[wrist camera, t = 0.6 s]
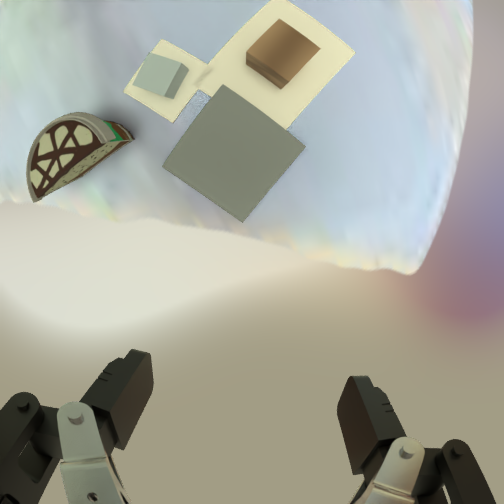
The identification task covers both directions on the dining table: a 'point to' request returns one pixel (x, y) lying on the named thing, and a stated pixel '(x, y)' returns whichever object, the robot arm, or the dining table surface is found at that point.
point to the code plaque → (258, 87)
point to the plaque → (186, 90)
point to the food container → (71, 151)
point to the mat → (233, 153)
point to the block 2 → (280, 53)
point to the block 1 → (161, 75)
